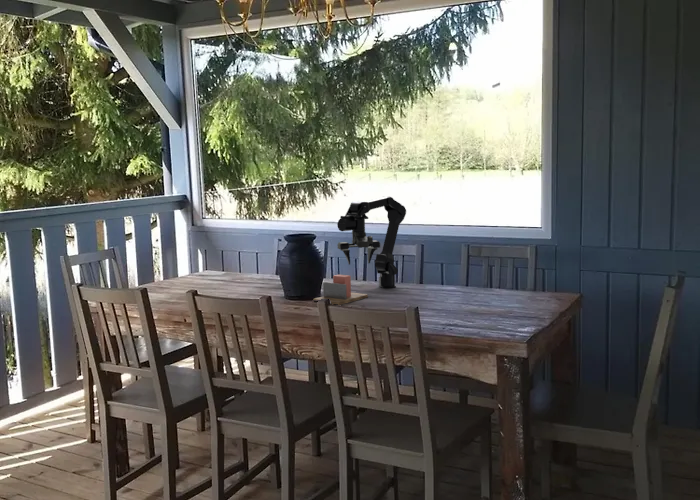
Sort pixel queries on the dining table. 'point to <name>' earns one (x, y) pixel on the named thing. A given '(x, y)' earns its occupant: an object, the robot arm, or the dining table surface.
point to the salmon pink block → (343, 282)
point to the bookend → (334, 290)
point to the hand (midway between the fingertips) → (359, 263)
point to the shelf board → (349, 299)
